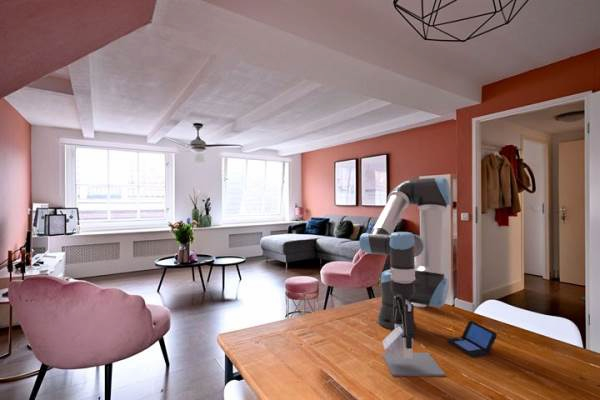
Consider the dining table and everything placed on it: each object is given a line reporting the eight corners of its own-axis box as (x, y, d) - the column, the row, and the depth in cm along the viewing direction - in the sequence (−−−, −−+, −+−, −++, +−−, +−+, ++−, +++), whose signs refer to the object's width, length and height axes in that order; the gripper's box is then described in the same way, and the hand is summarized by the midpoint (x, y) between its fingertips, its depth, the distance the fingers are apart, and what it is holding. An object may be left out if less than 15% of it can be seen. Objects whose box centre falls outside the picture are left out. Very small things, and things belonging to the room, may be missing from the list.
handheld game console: (446, 342, 116) (446, 322, 116) (470, 338, 118) (469, 319, 118) (472, 358, 104) (472, 337, 104) (498, 354, 106) (497, 333, 106)
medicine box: (395, 361, 95) (414, 341, 94) (384, 350, 95) (403, 330, 95) (391, 351, 102) (409, 333, 102) (381, 341, 103) (399, 323, 103)
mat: (382, 354, 107) (382, 352, 107) (428, 354, 106) (428, 352, 106) (392, 375, 94) (392, 373, 94) (444, 376, 93) (444, 374, 93)
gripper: (383, 272, 109) (383, 335, 109) (400, 289, 88) (401, 368, 88) (404, 272, 109) (405, 335, 109) (426, 289, 88) (427, 368, 88)
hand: (403, 350), depth 99 cm, fingers closed on medicine box, 8 cm apart
